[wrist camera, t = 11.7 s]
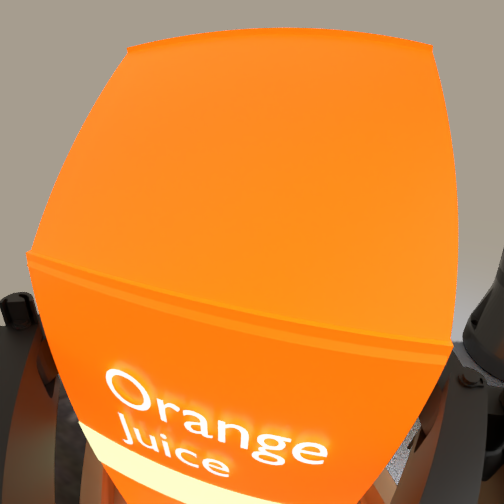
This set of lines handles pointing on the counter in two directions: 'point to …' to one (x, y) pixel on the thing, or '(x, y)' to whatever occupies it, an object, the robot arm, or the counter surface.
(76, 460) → the counter surface
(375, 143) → the orange juice
